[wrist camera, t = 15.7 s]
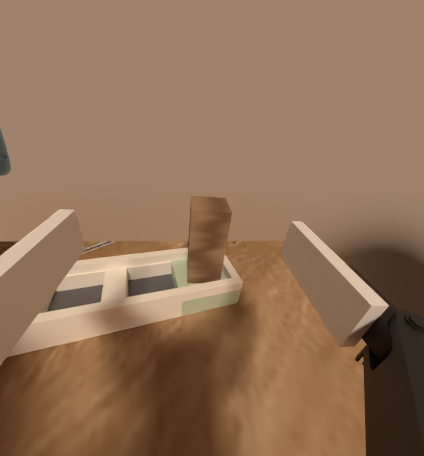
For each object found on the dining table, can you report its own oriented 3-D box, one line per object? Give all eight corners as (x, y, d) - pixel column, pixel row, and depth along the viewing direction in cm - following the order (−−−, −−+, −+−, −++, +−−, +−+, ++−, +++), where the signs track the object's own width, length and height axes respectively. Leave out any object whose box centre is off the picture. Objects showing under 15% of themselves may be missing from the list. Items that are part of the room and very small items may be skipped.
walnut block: (187, 283, 30) (191, 210, 24) (187, 261, 34) (191, 195, 28) (219, 283, 30) (231, 212, 24) (216, 262, 35) (225, 198, 29)
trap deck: (-98, 381, 19) (-133, 356, 17) (-30, 299, 27) (-48, 275, 25) (237, 302, 31) (242, 282, 29) (215, 262, 39) (218, 244, 37)
